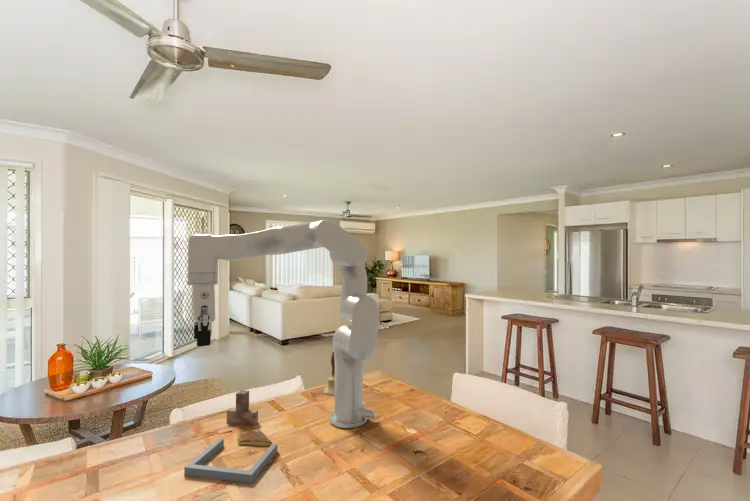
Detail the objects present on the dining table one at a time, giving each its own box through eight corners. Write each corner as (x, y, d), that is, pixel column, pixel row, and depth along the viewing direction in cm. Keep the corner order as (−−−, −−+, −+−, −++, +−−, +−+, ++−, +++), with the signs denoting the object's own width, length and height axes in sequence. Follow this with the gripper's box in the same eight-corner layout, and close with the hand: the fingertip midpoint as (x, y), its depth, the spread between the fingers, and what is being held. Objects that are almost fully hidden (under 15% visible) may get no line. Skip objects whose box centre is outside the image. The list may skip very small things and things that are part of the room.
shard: (272, 447, 103) (272, 441, 104) (245, 457, 99) (246, 450, 99) (258, 433, 112) (258, 427, 112) (233, 441, 107) (233, 435, 107)
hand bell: (319, 391, 146) (319, 351, 147) (336, 386, 152) (336, 348, 152) (331, 397, 140) (331, 356, 140) (348, 391, 146) (348, 352, 146)
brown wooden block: (258, 421, 119) (259, 391, 119) (254, 426, 116) (254, 394, 116) (230, 419, 120) (231, 389, 121) (225, 423, 117) (226, 392, 118)
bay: (277, 451, 101) (277, 444, 101) (251, 483, 86) (251, 474, 86) (218, 445, 104) (218, 438, 104) (184, 475, 89) (184, 467, 89)
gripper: (222, 280, 93) (221, 347, 93) (213, 277, 108) (213, 334, 107) (189, 281, 89) (188, 350, 89) (185, 277, 104) (184, 337, 104)
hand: (201, 341), depth 98 cm, fingers open, 9 cm apart
